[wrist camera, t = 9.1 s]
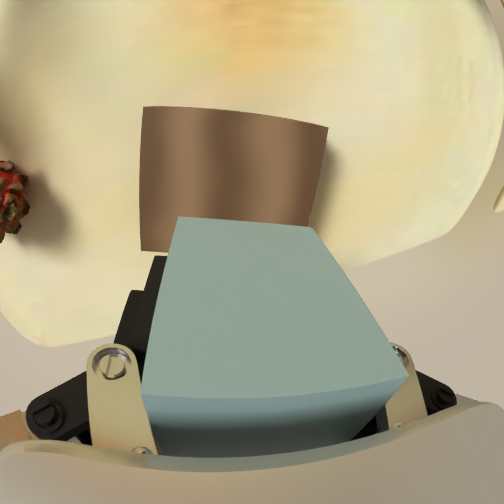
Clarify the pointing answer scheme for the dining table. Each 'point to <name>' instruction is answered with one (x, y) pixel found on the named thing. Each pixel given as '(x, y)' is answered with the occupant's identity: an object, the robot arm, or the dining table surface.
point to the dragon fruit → (12, 199)
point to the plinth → (224, 169)
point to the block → (260, 345)
